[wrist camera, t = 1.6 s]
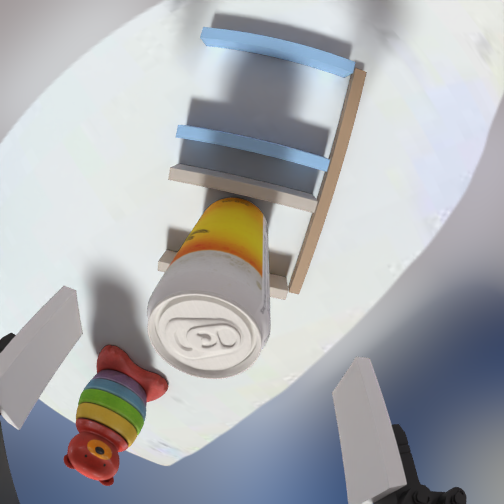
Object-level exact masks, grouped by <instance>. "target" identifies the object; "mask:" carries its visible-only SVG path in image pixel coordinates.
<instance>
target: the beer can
mask: <svg viewBox="0 0 504 504" xmlns="http://www.w3.org/2000/svg"><path fill="white" fill-rule="evenodd" d="M147 316H148V336H149V339H150V342H151V344H152V346H153V347H154V349H155V351H156V352H157V353H158V354H159V356H160V357H161V358H162V359H163V360H165V361H166V362H167V363H168V364H169V365H171V366H172V367H174V368H176V369H177V370H179V371H181V372H184V373H186V374H189V375H192V376H196V377H200V378H207V379H222V378H228V377H232V376H235V375H238V374H240V373H242V372H244V371H246V370H247V369H248V368H250V367H251V366H252V365H253V364H254V363H255V361H256V360H257V358H258V357H259V354H260V352H261V351H262V349H263V348H264V347H265V345H266V343H267V341H268V338H269V335H270V284H269V250H268V227H267V222H266V219H265V217H264V215H263V213H262V212H261V211H260V210H259V208H258V207H256V206H255V205H254V204H253V203H251V202H249V201H247V200H245V199H241V198H234V197H231V198H224V199H221V200H218V201H216V202H214V203H213V204H211V205H210V206H209V207H208V208H207V209H206V210H205V212H204V213H203V215H202V216H201V218H200V219H199V221H198V222H197V224H196V225H195V227H194V228H193V230H192V231H191V233H190V234H189V236H188V237H187V239H186V240H185V242H184V243H183V245H182V246H181V248H180V250H179V251H178V253H177V254H176V256H175V257H174V259H173V260H172V262H171V264H170V265H169V267H168V268H167V270H166V272H165V273H164V275H163V276H162V278H161V280H160V281H159V283H158V285H157V286H156V288H155V290H154V291H153V293H152V295H151V297H150V299H149V302H148V308H147Z"/></svg>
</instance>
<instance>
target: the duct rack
mask: <svg viewBox="0 0 504 504" xmlns="http://www.w3.org/2000/svg"><path fill="white" fill-rule="evenodd" d="M200 38H201V39H202V41H203V42H204V43H205V45H206V46H213V47H221V48H228V49H234V50H241V51H246V52H252V53H257V54H262V55H267V56H271V57H276V58H280V59H284V60H288V61H292V62H296V63H299V64H303V65H307V66H310V67H313V68H317V69H320V70H323V71H326V72H329V73H332V74H335V75H338V76H341V77H344V78H345V77H347V76H348V75H350V74H351V77H350V81H349V85H348V89H347V93H346V97H345V101H344V105H343V109H342V113H341V117H340V121H339V124H338V128H337V132H336V135H335V139H334V143H333V146H332V150H331V153H330V157H329V159H327V158H325V157H323V156H320V155H316V154H313V153H310V152H306V151H303V150H299V149H295V148H292V147H288V146H284V145H280V144H276V143H272V142H268V141H264V140H260V139H256V138H251V137H247V136H242V135H238V134H233V133H228V132H223V131H218V130H212V129H207V128H201V127H195V126H189V125H178V128H177V133H176V137H178V138H184V139H190V140H195V141H201V142H206V143H212V144H217V145H222V146H227V147H232V148H236V149H241V150H245V151H250V152H254V153H258V154H263V155H267V156H271V157H275V158H279V159H283V160H286V161H290V162H294V163H298V164H301V165H305V166H308V167H312V168H315V169H319V170H322V171H325V174H324V178H323V181H322V184H321V188H320V191H319V194H318V198H317V200H316V198H315V197H314V196H313V194H309V193H306V192H302V191H298V190H294V189H291V188H287V187H283V186H279V185H275V184H271V183H267V182H263V181H259V180H254V179H250V178H246V177H242V176H237V175H233V174H228V173H223V172H219V171H214V170H209V169H204V168H199V167H194V166H189V165H184V164H177V165H175V166H173V167H171V168H170V172H169V178H168V180H173V181H178V182H183V183H188V184H193V185H198V186H203V187H207V188H212V189H217V190H221V191H226V192H230V193H235V194H239V195H243V196H248V197H252V198H256V199H260V200H264V201H269V202H273V203H277V204H281V205H285V206H289V207H293V208H296V209H300V210H304V211H308V212H312V213H313V214H312V217H311V220H310V223H309V226H308V230H307V233H306V236H305V239H304V242H303V245H302V248H301V251H300V254H299V257H298V260H297V263H296V266H295V269H294V272H293V275H292V278H291V281H290V283H289V286H287V278H286V277H283V276H278V275H274V274H269V284H270V297H274V298H278V299H283V300H285V299H286V296H287V293H288V288H289V292H291V293H295V294H299V292H300V290H301V287H302V284H303V282H304V279H305V276H306V274H307V271H308V268H309V265H310V262H311V260H312V257H313V254H314V251H315V248H316V245H317V242H318V240H319V237H320V234H321V231H322V228H323V225H324V222H325V219H326V216H327V213H328V209H329V206H330V203H331V200H332V197H333V194H334V191H335V187H336V184H337V181H338V177H339V174H340V171H341V167H342V164H343V161H344V157H345V154H346V150H347V147H348V143H349V140H350V136H351V132H352V129H353V125H354V121H355V117H356V113H357V110H358V106H359V102H360V98H361V94H362V89H363V85H364V81H365V77H366V72H365V71H362V70H360V69H357V68H355V69H354V67H355V62H354V61H351V60H348V59H346V58H343V57H340V56H337V55H334V54H331V53H328V52H325V51H322V50H319V49H315V48H312V47H308V46H305V45H301V44H297V43H294V42H290V41H286V40H281V39H277V38H272V37H268V36H263V35H258V34H252V33H246V32H240V31H233V30H226V29H218V28H208V27H203V30H202V33H201V36H200ZM177 253H178V252H174V251H170V250H166V251H165V253H164V254H163V256H162V257H161V258H160V260H159V261H158V271H161V272H166V270H167V268H168V267H169V265H170V264H171V262H172V260H173V259H174V257H175V256H176V254H177Z"/></svg>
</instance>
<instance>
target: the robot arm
mask: <svg viewBox="0 0 504 504" xmlns="http://www.w3.org/2000/svg"><path fill="white" fill-rule="evenodd" d="M82 334H83V332H82V326H81V321H80V314H79V308H78V301H77V293H76V290H74V289H71V288H69V287H66V286H63V287H62V288H61V289H60V290H59V291H58V292H57V293H56V294H55V295H54V296H53V297H52V298H51V299H50V300H49V301H48V302H47V303H46V304H45V305H44V306H43V307H42V308H41V309H40V310H39V311H38V312H37V313H36V314H35V315H34V316H33V317H32V318H31V319H30V320H29V322H28V323H27V324H26V325H25V326H24V327H23V328H22V329H21V330H20V331H19V332H18V334H17V335H15V334H13V333H10V334H8V335H6V336H4V337H3V338H2V339H1V340H0V415H2V416H3V417H4V419H5V420H6V421H7V422H8V423H10V424H11V425H12V426H14V427H15V428H17V429H18V430H20V428H21V427H22V425H23V423H24V421H25V420H26V418H27V416H28V415H29V413H30V411H31V409H32V408H33V406H34V405H35V403H36V402H37V400H38V398H39V397H40V395H41V394H42V392H43V390H44V389H45V387H46V386H47V384H48V383H49V381H50V380H51V378H52V377H53V375H54V374H55V372H56V371H57V369H58V368H59V366H60V365H61V363H62V362H63V361H64V359H65V358H66V356H67V355H68V353H69V352H70V351H71V349H72V348H73V346H74V345H75V344H76V342H77V341H78V340H79V338H80V337H81V335H82ZM332 395H333V400H334V406H335V412H336V418H337V424H338V430H339V436H340V443H341V449H342V456H343V463H344V470H345V478H346V486H347V494H348V503H349V504H373V503H374V504H466V494H465V492H464V491H463V490H462V489H461V488H459V487H454V488H452V489H450V490H449V491H447V492H433V491H430V490H429V489H428V488H427V487H426V486H425V485H421V484H420V482H419V480H418V476H417V472H416V469H415V465H414V461H413V458H412V454H411V453H410V448H409V445H408V441H407V437H406V434H405V432H404V431H403V430H402V428H401V427H400V425H399V424H394V425H391V422H390V418H389V415H388V412H387V409H386V405H385V402H384V399H383V396H382V394H381V390H380V387H379V384H378V381H377V378H376V375H375V372H374V369H373V366H372V363H371V360H370V358H362V357H355V359H354V361H353V362H352V364H351V365H350V367H349V368H348V370H347V371H346V373H345V375H344V376H343V378H342V379H341V381H340V382H339V383H338V385H337V386H336V388H335V389H334V391H333V392H332ZM0 504H20V503H19V500H18V497H17V493H16V490H15V487H14V484H13V480H12V477H11V473H10V469H9V465H8V460H7V456H6V451H5V446H4V440H3V435H2V429H1V422H0Z"/></svg>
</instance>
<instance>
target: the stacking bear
mask: <svg viewBox="0 0 504 504" xmlns="http://www.w3.org/2000/svg"><path fill="white" fill-rule="evenodd" d="M167 389H168V384H167V382H166V380H165V379H164V378H162V377H161V376H160V375H158V374H156V373H152V372H149V371H146V370H144V369H142V368H140V367H138V366H137V365H136V364H134V363H133V362H132V361H131V359H130V358H129V357H128V355H127V354H126V353H125V352H124V351H123V350H121V349H119V348H118V347H117V346H111V345H107V346H105V347H104V348H103V349H102V350H101V352H100V354H99V356H98V359H97V374H96V375H95V376H94V377H93V379H92V380H91V381H90V382H89V383H88V384H87V386H86V387H85V388H84V390H83V392H82V393H81V396H80V399H79V403H78V408H77V414H76V427H77V430H78V431H79V434H78V435H76V436H75V437H74V438H73V439H72V440H71V441H70V443H69V446H68V453H67V455H65V456H64V463H65V464H66V465H67V467H69V468H71V469H76V470H77V471H78V472H80V473H81V474H83V475H84V476H86V477H88V478H91V479H94V480H99V481H100V482H101V483H102V484H103V485H105V486H110V485H112V484H113V482H114V479H113V476H114V475H115V474H116V473H117V471H118V468H119V455H118V452H122V451H124V450H126V449H127V448H128V447H130V446H131V445H132V443H133V442H134V440H135V439H136V437H137V435H138V434H139V433H140V431H141V429H142V427H143V424H144V421H145V416H146V402H149V401H153V400H155V399H158V398H159V397H161V396H162V395H163V394H165V392H166V391H167Z"/></svg>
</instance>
